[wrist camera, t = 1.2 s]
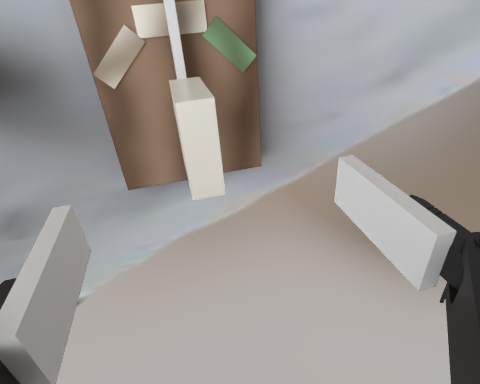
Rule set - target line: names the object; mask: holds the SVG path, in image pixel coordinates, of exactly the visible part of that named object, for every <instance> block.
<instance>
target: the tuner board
mask: <svg viewBox="0 0 480 384" xmlns="http://www.w3.org/2000/svg"><path fill="white" fill-rule="evenodd" d="M174 1H175V7H176V13H177V20H178V26H179V33H180V39H181V45H182V52H183V58H184V64H185V71H186V77H187V78H192V77H200V79H201V80H202V81H203V83H204V84H205V85H206V87H207V88H208V89H209V91H210V92H211V93H212V95H213V96H214V98H215V107H216V115H217V124H218V133H219V141H220V150H221V159H222V167H223V173H225V172H231V171H236V170H241V169H247V168H252V167H258V166H261V145H260V121H259V96H258V72H257V47H256V23H255V0H174ZM70 3H71V7H72V10H73V13H74V16H75V20H76V23H77V26H78V29H79V32H80V36H81V39H82V42H83V45H84V49H85V52H86V55H87V58H88V62H89V65H90V68H91V71H92V74H93V78H94V81H95V84H96V87H97V91H98V94H99V97H100V100H101V104H102V107H103V110H104V113H105V116H106V120H107V123H108V126H109V129H110V133H111V136H112V139H113V142H114V146H115V149H116V152H117V155H118V158H119V162H120V165H121V168H122V171H123V175H124V178H125V181H126V184H127V187H128V190H132V189H138V188H143V187H149V186H154V185H160V184H165V183H171V182H176V181H181V180H187V179H188V177H187V173H186V168H185V164H184V159H183V154H182V148H181V143H180V138H179V132H178V127H177V122H176V118H175V114H174V109H173V100H172V95H171V90H170V84H169V80H176V79H177V77H176V71H175V66H174V60H173V54H172V48H171V43H170V37H169V31H168V25H167V20H166V14H165V8H164V2H163V0H70Z"/></svg>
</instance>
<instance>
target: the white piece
mask: <svg viewBox="0 0 480 384" xmlns="http://www.w3.org/2000/svg"><path fill="white" fill-rule="evenodd" d="M163 2H164V8H165V14H166V20H167V25H168V31H169V37H170V43H171V48H172V54H173V60H174V66H175V71H176V77H177V79H176V80H169V84H170V90H171V95H172V100H173V109H174V114H175V118H176V122H177V127H178V132H179V138H180V143H181V148H182V154H183V159H184V164H185V168H186V173H187V177H188V181H189V186H190V190H191V195H192V199H193V201H195V200H200V199H205V198H210V197H215V196H220V195H225V194H226V193H225V184H224V176H223V167H222V159H221V150H220V141H219V133H218V124H217V115H216V107H215V98H214V96H213V95H212V93H211V92H210V91H209V89H208V88H207V87H206V85H205V84H204V83H203V81H202V80H201V79H200V77H192V78H187V77H186V71H185V64H184V58H183V52H182V45H181V39H180V33H179V26H178V20H177V13H176V7H175V1H174V0H163Z"/></svg>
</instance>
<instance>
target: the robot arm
mask: <svg viewBox="0 0 480 384" xmlns="http://www.w3.org/2000/svg"><path fill="white" fill-rule="evenodd" d="M334 202H335V203H336V204H337V205H338V206H339V207H340V208H341V209H342V210H343V211H344V212H345V213H346V214H347V215H348V217H349V218H350V219H351V220H352V221H353V222H354V223H355V224H356V225H357V226H358V227H359V228H360V229H361V230H362V231H363V232H364V234H366V236H367V237H368V238H369V239H370V240H371V241H372V242H373V243H374V244H375V245H376V246H377V247H378V249H379V250H380V251H381V252H382V253H383V254H384V255H385V256H386V257H387V258H388V259H389V260H390V261H391V262H392V263H393V265H394V266H395V267H396V268H397V269H398V270H399V271H400V272H401V273H402V274H403V275H404V276H405V277H406V278H407V279H408V280H409V282H410V283H411V284H412V285H413V286H414V287H415V288H416V289H417V290H418V291H421V290H425V289H429V288H432V287H436V285H437V282H438V279H439V277H440V275H441V276H442V277H443V278H444V279H445V280H446V281H447V284H446V287H445V289H444V292H443V294H442V297H441V300H440V303H443V302H444V300H445V299H446V311H447V326H448V342H449V358H450V374H451V384H480V232H473V233H471V232H470V231H468V230H467V229H465V228H464V227H463V226H461V225H460V224H458V223H457V222H455V221H454V220H453V219H451V218H450V217H448V216H447V215H445V214H442V212H441V211H440V210H438V209H437V208H434V206H433V205H431V204H430V203H428V202H427V201H426V200H424V199H421V198H419V197H416V196H414V195H409V196H408V195H407V194H405V193H404V192H403V191H401V190H400V189H399V188H397V187H396V186H394V185H393V184H392V183H390V182H389V181H388V180H386V179H385V178H383V177H382V176H381V175H379V174H378V173H377V172H375V171H374V170H373V169H371V168H370V167H368V166H367V165H365V164H364V163H363V162H362V161H360V160H359V159H358V158H356V157H355V156H354V155H348V156H342V157H339V162H338V172H337V181H336V190H335V199H334ZM90 253H91V249H90V247H89V245H88V242H87V240H86V238H85V236H84V233H83V231H82V229H81V226H80V224H79V222H78V219H77V217H76V215H75V213H74V210H73V208H72V206H71V205H66V206H61V207H55V208H53V209H52V211H51V213H50V215H49V216H48V218H47V220H46V222H45V224H44V226H43V228H42V230H41V232H40V234H39V236H38V238H37V240H36V242H35V244H34V246H33V248H32V250H31V251H30V253H29V255H28V257H27V259H26V261H25V263H24V265H23V267H22V269H21V271H20V273H19V275H18V277H17V278H15V279H10V280H5V281H4V282H3V283H2V284H1V285H0V384H56V381H57V377H58V374H59V370H60V366H61V362H62V359H63V355H64V351H65V347H66V343H67V339H68V336H69V332H70V328H71V324H72V320H73V316H74V313H75V309H76V306H77V302H78V298H79V294H80V290H81V287H82V283H83V279H84V275H85V272H86V268H87V264H88V260H89V256H90Z"/></svg>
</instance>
